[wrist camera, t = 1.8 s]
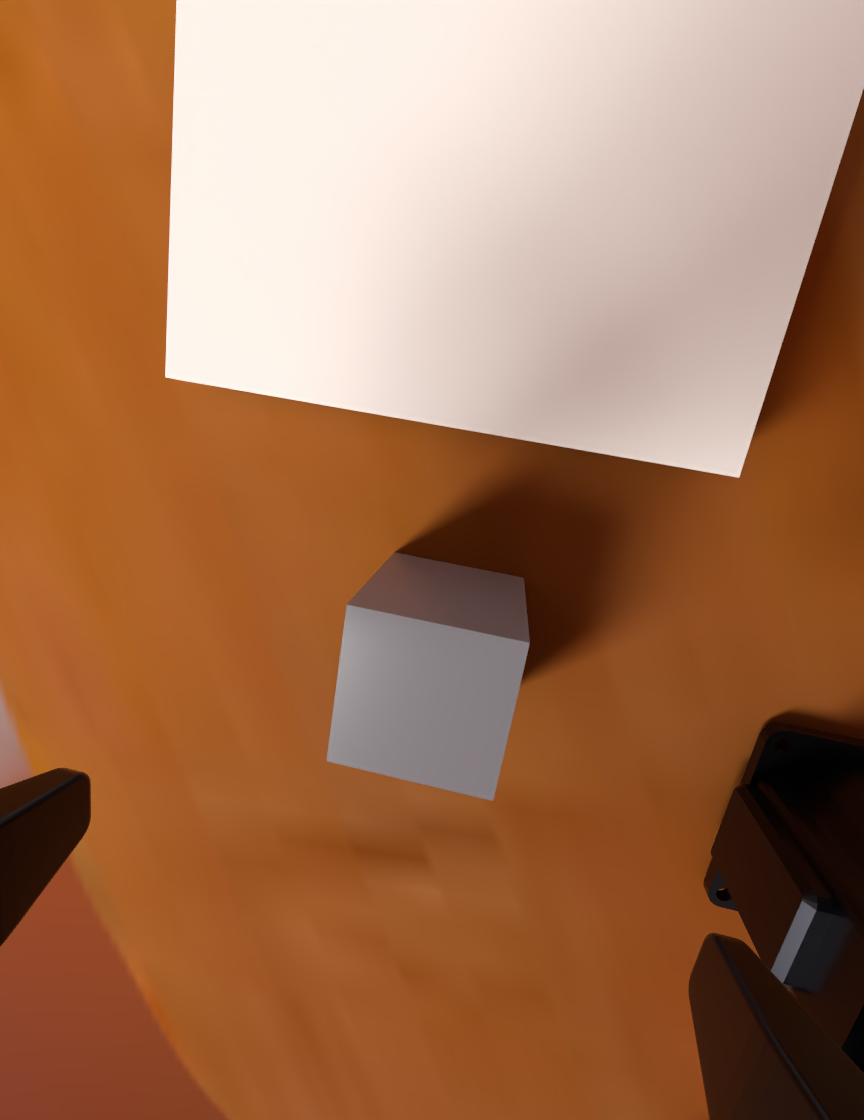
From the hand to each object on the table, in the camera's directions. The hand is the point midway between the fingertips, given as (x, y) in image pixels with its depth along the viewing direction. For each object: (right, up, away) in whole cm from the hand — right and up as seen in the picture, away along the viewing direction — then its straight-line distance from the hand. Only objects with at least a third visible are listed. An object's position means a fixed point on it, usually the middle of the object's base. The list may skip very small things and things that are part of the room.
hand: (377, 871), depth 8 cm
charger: (+1, +2, +9) cm, 10 cm away
